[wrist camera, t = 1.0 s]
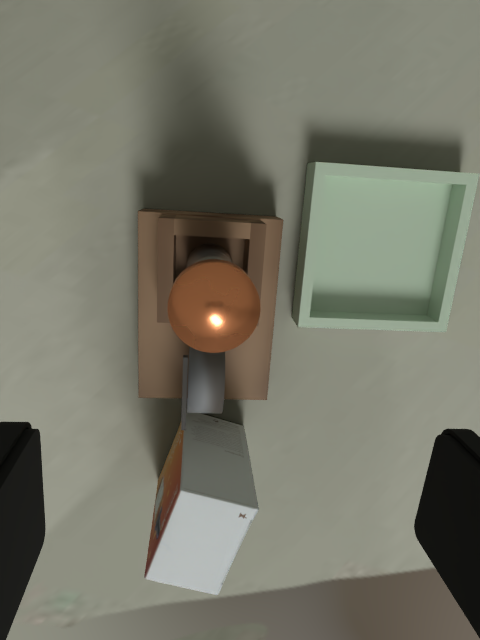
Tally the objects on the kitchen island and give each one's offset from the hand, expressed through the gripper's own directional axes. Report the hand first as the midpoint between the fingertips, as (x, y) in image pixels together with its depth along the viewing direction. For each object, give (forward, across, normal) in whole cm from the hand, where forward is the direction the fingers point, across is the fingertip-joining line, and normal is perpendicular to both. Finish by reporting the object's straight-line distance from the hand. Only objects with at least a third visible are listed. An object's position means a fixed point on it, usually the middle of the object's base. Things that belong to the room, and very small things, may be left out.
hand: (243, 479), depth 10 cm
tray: (+25, -13, -2) cm, 29 cm away
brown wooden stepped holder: (+26, 0, +3) cm, 26 cm away
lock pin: (+23, 0, -1) cm, 23 cm away
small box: (+26, -1, +17) cm, 31 cm away
